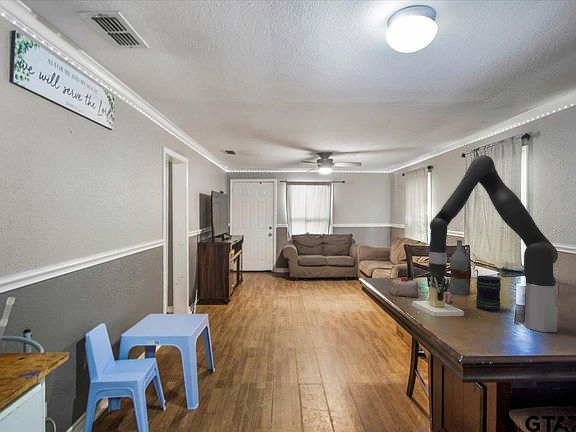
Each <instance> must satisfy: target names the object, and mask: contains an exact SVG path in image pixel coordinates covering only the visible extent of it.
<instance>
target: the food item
mask: <svg viewBox="0 0 576 432" xmlns="http://www.w3.org/2000/svg"><path fill="white" fill-rule="evenodd" d="M418 285H419V282H418V281H417V280H409V279H408V278H407V277H406V276H404V277H401V278H400V279H393V280H391V288H390V289H391V293H392V295H394V296H395V297H403V296H406V297H408V298H415V297H416V298H419V292H418V288H419V286H418ZM406 297H405V298H406Z"/></svg>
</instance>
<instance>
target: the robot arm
mask: <svg viewBox="0 0 576 432" xmlns="http://www.w3.org/2000/svg"><path fill="white" fill-rule="evenodd" d="M478 184H480V185H481V186H482V187H483V189H484V190H485V191H486V193H487V195H488V197H489V199H490V202H491V204H492V205H493V208H494V210H495V211H496V213H498V215H499V216H500V218H501V220H502V221H503V222H504V224H506V225H507V227H509V228H510V229H511V230H512V231H513V232H514V233H516V234H517V235H518V236H519V238H520V239H521V240H522V241H523V244H524V245H525V247H526V248H525V249H524V253H523V273H524V274H523V275H524V277H525V302H524V304H525V305H524V306H525V307H524V308H525V309H524V326H525V327H526V328H527V329H530V330H533V331H537V332H541V333H557V332H558V319H559V318H558V313H559V312H558V311H559V309H558V306H556V282H557V281H556V278H555V274H554V264H555V263H556V262H557V260H558V258H559V254H558V253H559V252H558V250H557V248H556V247H555V246H554V245H553V244H552V242H550V240H549V239H548V238H547V237H546V236H545V234H543V232H542V231H541V230H540V228H539V226H538V225H537V224H536V222H535V221H534V219H533V217H532V216H531V214H530V212H529V211H528V210H527V208H526V206H525V205H524V204H523V202H522V201H521V200H520V198H519V196H517V194H515V192H514V191H513V190H512V189H510V188H509V186H507V185H506V184H505V182H504V181H503V180H502V178H501V176H500V175H499V173H498V171H497V169H496V165H495V162H494V160H493V158H492V157H491V156H489V155H485V154H482V155H478V156H476V157H475V158H473V159H472V161H471V162H470V164H469V166H468V168H467V170H466V172H465V173H464V176H463V177H462V179H461V181H460V182H459V183H458V185H457V186H456V188H455V189H454V191H453V192H452V194H451V195H450V196H449V197H448V199H447V200H446V201H445V203H444V204H443V206H442V208H441V209H440V210H439V212H438V213H437V214H436V215H435V216H434V217H433V219H432V220H431V221H430V223H429V229H430V241H429V253H428V272H429V273H428V274H427V273H426V281H427V282H426V283H427V287H428V288H429V287H437V288H438V300H439V301H443V299H444V298H443V297H444V292H447V291H448V289H449V284H450V280H449V279H447V278H445V274H446V273H447V271H448V270H447V263H448V261H447V260H448V259H447V258H448V256H447V237H448V226H449V225H450V223H451V222H452V220H454V219H455V218H456V217H457V215H458V214H459V213H460V212H462V211H461V210H462V209H463V208H464V207H465V206H466V203H467V202H468V200H469V198H470V196H471V195H472V192H473V191H474V189H475V188H476V187H477V185H478ZM440 287H441V290H440Z"/></svg>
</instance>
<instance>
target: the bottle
mask: <svg viewBox="0 0 576 432" xmlns="http://www.w3.org/2000/svg"><path fill="white" fill-rule="evenodd" d="M449 260H450V261H449V268H450V269H449V270H450V280H449V284H448V287H449V292H450V293H451V294H452V295H456V296H467V295H468V289H469V285H468V270H469V260H468V257H467V255H466V254H465V252H464V251H463V240H459V239H458V240H456V250H455V251H454V252H453V254H452V255H451V256H450V259H449Z"/></svg>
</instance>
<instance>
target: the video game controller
mask: <svg viewBox="0 0 576 432" xmlns="http://www.w3.org/2000/svg"><path fill="white" fill-rule="evenodd" d="M452 298H453V294H452V293H451V292H450V291H448V290H447V292H445V303H447V304H448V305H450V304H451V302H452Z"/></svg>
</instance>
